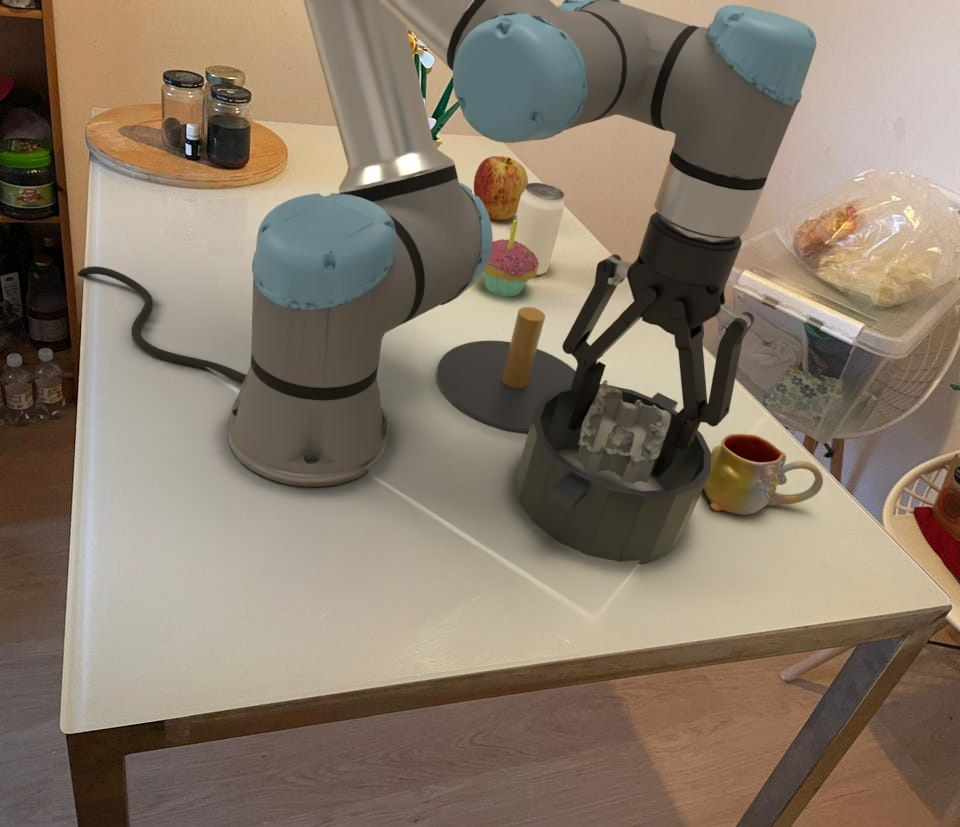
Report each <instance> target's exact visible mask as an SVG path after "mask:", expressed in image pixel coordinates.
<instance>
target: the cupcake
mask: <svg viewBox="0 0 960 827" xmlns="http://www.w3.org/2000/svg"><path fill="white" fill-rule="evenodd" d="M511 224H512V225H511V229H510V234H509V238H508V239H503V238H501V239H498V240H497V239H496V240H493V243H492V251H491V256H490V259H489V262H488V265H487V267H486V269H485V271H484V272H483V278H484V287H485V288H486V289H487V290H488V291H489V292H490V293H493V294H495V295H497V296H502V297H516V296H518V295H520V293H521V292H522V290H523V288H524V287H525V285H526V284H527V283H528V281H529V280H531V279H534V278H535V277H536V276H535V275H536V273H537V267H538V266H539V265H538V264H539V262H538V259H537V258H536V255H534V253H533V252H532V251H530V249H528V248H526V246H524V245H523V244H521V243H519V242H517V241H514V238H515V233H516V229H517V224H518V220H517V215H516V214H515V218H514V219H513V220H512V223H511Z"/></svg>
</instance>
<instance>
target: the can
mask: <svg viewBox="0 0 960 827" xmlns="http://www.w3.org/2000/svg"><path fill="white" fill-rule="evenodd" d="M564 197H565V193H564V192H563V191H562V190H561V189H560V188H558V187H556V186H555V185H551V184H547V183H542V182H528V184H527V185H526V189H525V191H524V192H523V193H522V194H521V197H520V201H519V205H518V209H517V213H516V214H515V216H516V215H517V220H518V224H517V229H516V233H515V238H514V241H517V242H519V243H521V244H523V245H524V246H526V248H528V249H530V251H532V252H533V253H534V255H536V258H537V259H538V262H539V264H538V265H539V266H538V267H537V273H536V275H535V277H538V276H542V275H544V274H545V273H547V272H548V270H549V267H550V264H551V260H552V256H553V253H554V247H555V245H556V241H557V237H558V233H559V230H560V225H561V222H562V218H563V214H564V209H565V202H564Z"/></svg>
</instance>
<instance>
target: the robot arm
mask: <svg viewBox="0 0 960 827" xmlns="http://www.w3.org/2000/svg"><path fill="white" fill-rule="evenodd" d="M303 5H304V8H305V11H306V16H307V19H308V23H309V28H310V30H311V33H312V37H313V41H314V44H315V48H316V52H317V56H318V60H319V63H320V68H321V71H322V74H323V75H322V76H323V78H324V82H325V86H326V89H327V94H328V97H329V100H330V104H331V107H332V111H333V115H334V119H335V122H336V126H337V130H338V133H339V137H340V141H341V145H342V148H343V152H344V156H345V159H346V163H347V171H346V174H345V176H344V177H343V179H342V181H341V183H340V184H339V187H338V193H337V192H334V193H333V192H331V193H330V194H329V195H322V194H320V193H309V194H304V195H300V196H296V197H293V198H291V199H288V200H285V201H284V202H282V203H280V204H278V205H277V206H275V207H274V208H273V209H272V210H270V211H269V212H268V213H267V214H266V215H265V217H264V218H263V219H262V221H261V223H260V225H259V227H258V230H257V231H258V232H257V235H256V243H255V244H256V245H255V250H254V253H253V258H252V264H251V267H252V268H251V271H252V310H251V312H252V313H251V318H252V319H251V348H250V350H251V352H250V354H251V355H250V367H249V369H248V371H247V373H243V372H241V371H238V370H236V369H233V368H231V367H228V366H225V365H223V364H219V363H217V362H213V361H210V360H205V359H203V358H202V359H201V358H197V357H192V356H187V355H183V354H179V353H175V352H171V351H169V350H168V351H167V350H165V349H162V348H159V347H157V346H155V345H153V344H151V343H150V342H148V341H147V340H146V339H144V338H143V336H142V334H141V329H142V326H143V325H144V323H145V321H146V319H147V318H148V317H149V315H150V313H151V311H152V308H153V305H154V304H153V302H154V300H153V296H152V294H150V292H149V291H148V290H147V289H146V288H145V287H144V286H142V284H140V283H139V282H137V281H136V280H134V279H132V278H131V277H129V276H128V275H126V274H123V273H121V272H119V271H117V270H114V269H111V268H108V267H104V266H95V265H94V266H86V267H84V268H81V269H80V270H79V271H78V272H77V274H76V275H77V276H78V277H81V278H83V277H87V276H90V275H101V276H106V277H109V278H112V279H115V280H117V281H118V282H121V283H122V284H124V285H126V286H128V287H130V289H132V290H134V291H135V292H137V293H138V294H139V295H140V296H141V297H142V298H143V301H144V303H143V307H142V309H141V310H140V312H139V313H138V315H137V316H136V318H135V319H134V321H133V323H132V325H131V337H132V339H133V341H134V342H135V344H136V345H137V346H138V347H140V348H141V349H142V350H143V351H145V352H146V353H148V354H149V355H151V356H154V357H157V358H160V359H162V360H166V361H169V362H173V363H176V364H181V365H186V366H190V367H195V368H199V369H203V370H207V371H210V370H213V371H216V372H218V373H220V374H222V375H224V376H226V377H229V378H231V379H233V380H235V381H237V382H240V383H242V384H241V387H240V389H239V392H238V394H237V397H236V399H235V400H234V402H233V405H232V407H231V410H230V413H229V416H228V443H229V447H230V448H231V451H232V452H233V454H234V455H235V457H236V459H238V460H239V461H240V462H241V463H242V464H243V465H244V466H245V467H246V468H248V469H249V470H251V471H252V472H254V473H256V474H257V475H259V476H262V477H263V478H266V479H268V480H272V481H274V482H277V483H281V484H285V485H290V486H296V487H297V486H298V487H309V488H310V487H311V488H314V487H315V488H316V487H327V486H335V485H340V484H344V483H348V482H350V481H353V480H356V479H358V478H360V477H362V476H364V475H366V474H367V473H368V472H369V470H370V469H371V468H372V467H374V466H375V465H376V464H377V463H378V462H379V460H380V459H381V457H382V456H383V454H384V452H385V449H386V445H387V444H386V443H387V439H388V433H389V431H388V429H389V428H390V425H388V424H391V423H390V422H391V420H389V423H388V422H387V418H386V414H385V411H384V409H383V407H382V403H381V394H380V389H379V384H378V379H377V378H378V370H379V362H380V356H381V349H382V342H383V338H384V336H385V335H386V333H388V332H390V331H392V330H394V329H396V328H397V327H399V326H402V325H404V324H405V323H408V322H410V321H412V320H414V319H415V318H417V317H419V316H421V315H423V314H425V313H427V312H429V311H431V310H433V309H435V308H436V307H439V306H444V305H447V304H448V303H450V302H452V301H454V300H456V299H457V298H459V297H460V296H461V295H462V294H463V293H464V292H465V291H467V290H469V289H470V288H471V287H472V286H474V285H475V284H476V283H477V282H478V281H479V280H480V278H481V277H482V275H484V273H483V272H484V271H485V269H486V267H487V265H488V262H489V259H490V256H491V251H492V243H493V241H494V240H493V226H492V222H491V219H490V218H489V215H488V212H487V210H486V208H485V206H484V204H483V202H482V201H481V199H480V198H479V197H478V196H475V194H474V193H473V190H472V188H470V187H469V186H467V185H465V184H464V183H461V182H460V180H459V176H458V172H457V168H456V164H455V161H454V159H452V158H451V157H449V156H448V155H446V154H445V153H443V151H440V150H439V149H438V148H437V147H436V145H435V142H434V139H433V135H432V130H431V125H430V122H429V118H428V114H427V109H426V105H425V100H424V96H423V92H422V87H421V83H420V79H419V74H418V70H417V67H416V63H415V59H414V54H413V49H412V46H411V45H412V44H411V41H410V37H409V33H408V30H409V31H410V32H411V33H412V34H413V35H414V36H415V37H416V38H417V39H419V40H420V42H422V44H424V45H425V47H426V48H428V49H429V50H430V51H431V52H432V53H433V54H434V55H435V56H436V57H438V58H439V59H440V60H441V62H443V63H444V64H445V66H447V67H448V68H449V69H450V70H451V71H452V88H453V91H454V92H453V93H454V96H455V98H456V99H457V101H458V104H459V107H460V110H461V111H462V116H463V118H464V119H465V120H466V122H467V123H468V124H469V125H470V127H471V128H473V129H474V130H475V131H476V132H477V133H479V134H480V135H481V136H483V137H484V138H487V139H489V140H491V141H494V142H497V143H503V144H514V143H515V144H516V143H524V142H531V141H542V140H546V139H547V140H548V139H550V138H553V137H555V136H557V135H559V134H561V133H563V132H564V131H567V130H569V129H573V128H575V127H579V126H582V125H586V124H589V123H593V122H596V121H599V120H604V119H606V118H609V117H613V116H622V117H625V118H627V119H630V120H634V121H637V122H639V123H643V124H645V125H648V126H650V127H653V128H657V129H659V130H662V131H664V132H670V133H672V134H674V135H675V137H674V143H673V146H672V148H671V151H670V154H669V159H668V160H667V165H666V167H665V170H664V173H663V177H662V179H661V182H660V185H659V189H658V192H657V195H656V198H655V201H654V204H653V205H654V209H655V212H654V213H652V214H651V215H650V217H649V219H648V223H647V226H646V229H645V232H644V235H643V239H642V242H641V245H640V248H639V252H638V255H637V256H638V257H637V258H636V260H634V262H629V261H626V260H625V261H624V260H622V257H621V256H620V255H618V254H617V253H616V254H615V253H614V254H611V255H609V256H608V257H606V258H604V259H602V260H601V261H599V262H598V263H597V265H596V271H595V276H594V285H593V286H592V288H591V290H590V292H589V294H588V296H587V297H586V299H585V301H584V303H583V306H582V307H581V309H580V311H579V313H578V315H577V316H576V318H575V320H574V322H573V324H572V327H571V328H570V330H569V332H568V334H567V336H566V337H565V340H564V341H563V343H562V347H561V348H562V352H564V353H565V354H568V355H571V356H572V357H573V358H574V359H575V361H576V363H577V366H576V369H575V371H576V372H575V375H574V379H573V382H572V385H571V392H572V393H574V394H576V395H577V396H578V397H577V401H576V404H575V407H574V410H573V414H572V417H571V420H570V423H569V427H568V428H569V429H571V430H573V431H574V432H575V431H576V430H577V429H578V428H580V427H581V426H582V424H583V421H584V419H585V417H586V415H587V413H588V411H589V409H590V407H591V405H592V403H593V401H594V399H595V397H596V394H597V391H598V388H599V385H600V384H601V383H602V380H603V376H604V372H605V370H606V366H607V365H606V364H605V363H603V362H601V361H598V360H599V359H601V358H602V357H603V356H604V354H606V353H607V352H608V351H609V349H611V348H612V347H613V346H614V345H615V344H616V343H617V342H618V341H619V340H620V339H621V338H622V337H623V336H624V335H625V334H626V333H627V332H628V331H630V329H631V328H633V327H634V325H636V324H637V323H638V321H640V320H641V321H642V322H644V323H646V324H649V325H653V326H658V327H660V328H661V329H662V330H663V331H664V332H666V333H668V334H670V335H672V336H673V337H674V346H675V348H676V349H677V353H678V364H679V374H680V383H681V395H682V396H681V397H682V405H683V408H681V409H680V410H679V412H678V414H677V415H676V416H674V419H673V421H672V424H671V426H670V429H669V431H668V434H667V436H666V439H665V442H664V444H663V447H662V449H661V452H660V454H659V457H658V459H657V462H656V464H655V467H654V470H653V472H652V474H653V475H655V476H657V477H660V476H661V475H662V474H663V473H664V472H665V471H666V470H667V469H668V468H669V466H670V465H671V463H672V461H673V459H674V456H675V454H676V451H677V449H678V448H679V449H681V450H685V449H686V448H687V447H688V446H689V445H690V444H691V443H692V442H693V440H694V437H695V435H696V432H697V430H698V431H699V428H700V425H701V424H702V423H705V424H707V425H708V426H710V427H717V426H718V425H719V424H720V423H721V422H722V421H723V420H724V419H725V418H726V417H727V416H728V414H729V412H730V407H731V403H732V398H733V393H734V387H735V383H736V376H737V371H738V367H739V361H740V357H741V356H740V355H741V351H742V346H743V340H744V338H745V336H746V335H747V333H748V331H749V330H750V329H751V327H752V326H753V324H754V321H755V317H754V315H753V314H752V313H751V312H749V311H744V312H742V313H740V312H738V310H736V309H734V308H732V307H731V306H730V305H728V304H726V297H725V289H726V286H727V283H728V281H729V278H730V276H731V273H732V270H733V268H734V265H735V262H736V260H737V258H738V255H739V252H740V250H741V247H742V245H743V242H742V239H741V236H743V235H744V234H746V233H747V232H748V229H749V226H750V224H751V222H752V219H753V216H754V214H755V211H756V209H757V207H758V204H759V201H760V199H761V196H762V194H763V191H764V188H765V187H766V183H767V180H768V177H769V174H770V171H771V169H772V166H773V164H774V162H775V160H776V157H777V155H778V153H779V149H780V147H781V145H782V143H783V140H784V138H785V135H786V132H787V130H788V128H789V125H790V123H791V120H792V118H793V116H794V114H795V111H796V110H797V107H798V104H800V101H801V99H802V90H803V87H804V85H805V82H806V78H807V76H808V73H809V69H810V66H811V64H812V61H813V58H814V54H815V52H816V49H817V37H816V34H815V32H814V30H813V29H812V28H811V27H810V26H809V25H807V24H806V23H803V22H802V21H799V20H797V19H795V18H792V17H789V16H786V15H783V14H779V13H776V12H773V11H772V12H771V11H767V10H766V11H764V10H762V9H758V8H755V7H751V6H745V5H737V4H727V5H724V6H722V7H720V8H719V9H718V10H717V11H716V12H715V14H714V17H713V20H712V22H711V23H709V24H708V27H707V26H706V27H705V26H702V27H701V26H697V25H691V24H688V23H684V22H682V21H680V20H679V21H678V20H676V19H672V18H669V17H666V16H663V15H660V14H657V13H654V12H650V11H648V10H644V9H642V8H638V7H635V6H632V5H629V4H626V3H623V2H622V1H621V0H563V1H562V3H561V4H560V5H556V4H555V3H553V1H551V0H303ZM625 279H627V281H628V286H629V288H630V291H631V295H632V298H633V302H631V303H630V304H629V306H628V307H626V308H625V309H624V310H623V311H622V312H621V314H619V316H618V317H617V318H616V319H615V320H614V321H613V323H611V325H609V326H608V327H607V328H606V329H605V330H604V331H603V332H602V333H601V334H600V335H599V336H598V337H597V338H596V339H595V340H594V341H593V342H592V343H591V345H590V344H589V342H588V339H589V338H590V336H591V334H592V333H593V331H594V329H595V327H596V325H597V323H598V321H600V318H601V316H602V315H603V313H604V311H605V309H606V307H607V305H608V303H609V302H610V300H611V298H612V296H613V295H614V292H615V290H616V289H617V286H618V285H620V284H622V283H623V282H624V281H625ZM714 317H715V319H717V320H718V334H719V335H720V336H722V337H721V339H720V342H719V343H718V347H717V351H716V357H715V364H714V368H713V375H712V379H711V385H710V391H709V396H708V394H707V393H708V392H707V382H706V379H707V378H706V368H705V356H704V355H705V354H704V343H703V342H704V337H705V330H704V328H705V327H704V326H705V325H704V323H706V322H707V321H709V320H711V319H713V318H714ZM391 416H392V415H390V417H389V418H391ZM387 423H388V424H387Z"/></svg>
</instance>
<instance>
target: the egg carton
mask: <svg viewBox="0 0 960 827" xmlns="http://www.w3.org/2000/svg"><path fill="white" fill-rule="evenodd" d="M600 384H601V386H600V389H599V390H598V392H597V395H596V397H595V399H594V401H593V403H592V405H591V407H590V409H589V411H588V413H587V415H586V417H585V419H584V421H583V424H582V429H581V434H580V441H579V445H580V449H578V452H577V455H576V457H575V459H576V461H577V462H578V463H580V464H582V466H583V467H584V469H585V470H586V471H588V472H591V473H593V474H595V475H597V474H598V473H599V472H605V471H608V472H611V473H614V474H615V475H617V476H618V477H619V478H620V479H621V481H622V482H624V483H626V484H630V485H634V484H635V483H637V482H641V483H647V482H648V481H649V477H650V476H651V475H650V473H651V470H652V467H653V464H654V460H655V459H656V458H657V457H658V456H659V454H660V451H661V449H662V445H663V442H664V440H665V436H666V433H667V430H668V428H669V424H670V420H671V414H670V413H669V412H667V411H666V410H661V409H659V408H657V407H656V406H655V405H653V406H647V405H644V404H643V403H642V401H641V400H637V401H635V404H630V403H626V402H623V401H622V400H623V393H622V392H621V391H619V390H618V389H615V388H611V387H609V386H608V385H609V384H608V380H607V379H605V380H603V381H602V382H601V383H600Z"/></svg>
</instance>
